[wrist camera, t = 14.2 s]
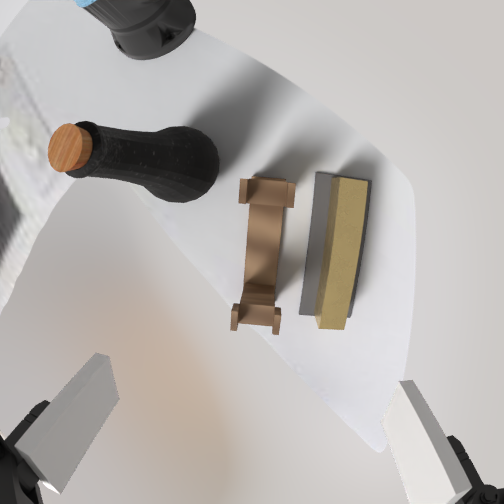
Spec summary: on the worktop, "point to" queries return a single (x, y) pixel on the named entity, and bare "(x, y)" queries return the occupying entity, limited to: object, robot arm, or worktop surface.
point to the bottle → (138, 158)
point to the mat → (318, 242)
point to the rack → (262, 250)
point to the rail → (340, 251)
